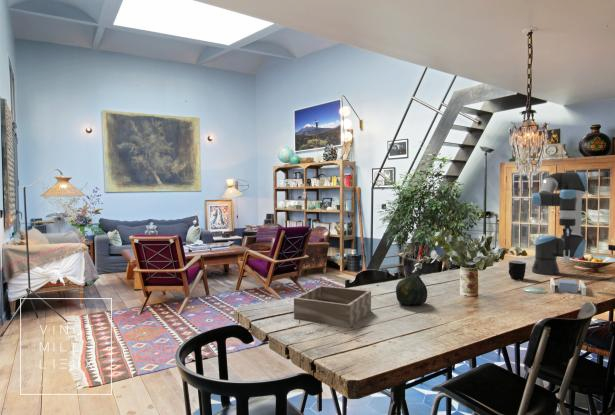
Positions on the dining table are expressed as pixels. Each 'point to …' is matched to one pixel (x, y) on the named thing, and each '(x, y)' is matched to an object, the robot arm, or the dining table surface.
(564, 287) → the block
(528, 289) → the coaster
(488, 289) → the dining table surface
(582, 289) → the channel
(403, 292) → the squash
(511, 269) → the mug
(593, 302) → the dining table surface
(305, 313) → the planter box
